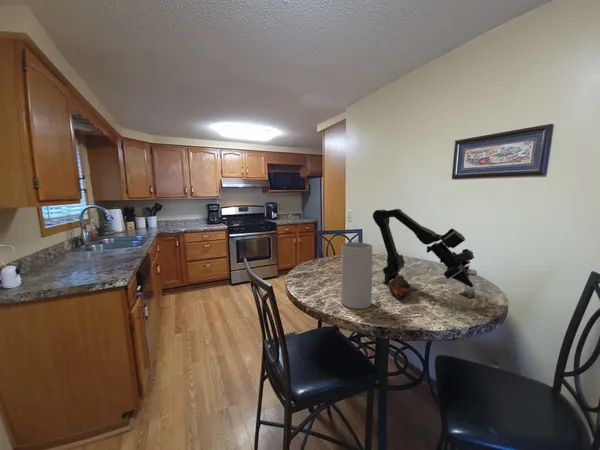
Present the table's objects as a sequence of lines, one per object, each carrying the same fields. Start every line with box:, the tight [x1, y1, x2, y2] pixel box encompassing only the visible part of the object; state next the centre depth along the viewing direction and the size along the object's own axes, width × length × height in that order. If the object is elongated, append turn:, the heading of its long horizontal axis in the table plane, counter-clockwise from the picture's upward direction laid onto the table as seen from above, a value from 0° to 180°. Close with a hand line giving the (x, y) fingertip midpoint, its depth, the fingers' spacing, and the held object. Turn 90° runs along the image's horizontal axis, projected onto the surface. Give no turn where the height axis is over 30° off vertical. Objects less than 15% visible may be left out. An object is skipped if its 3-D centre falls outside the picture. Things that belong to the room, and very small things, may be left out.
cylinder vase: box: [340, 242, 373, 310], centre depth 101 cm, size 12×12×25 cm
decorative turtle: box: [387, 274, 412, 298], centre depth 110 cm, size 10×15×8 cm, turn 160°
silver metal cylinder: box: [462, 268, 478, 299], centre depth 100 cm, size 4×4×12 cm
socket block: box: [450, 290, 489, 310], centre depth 100 cm, size 9×9×4 cm
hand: (473, 285), depth 99 cm, fingers closed on silver metal cylinder, 4 cm apart
